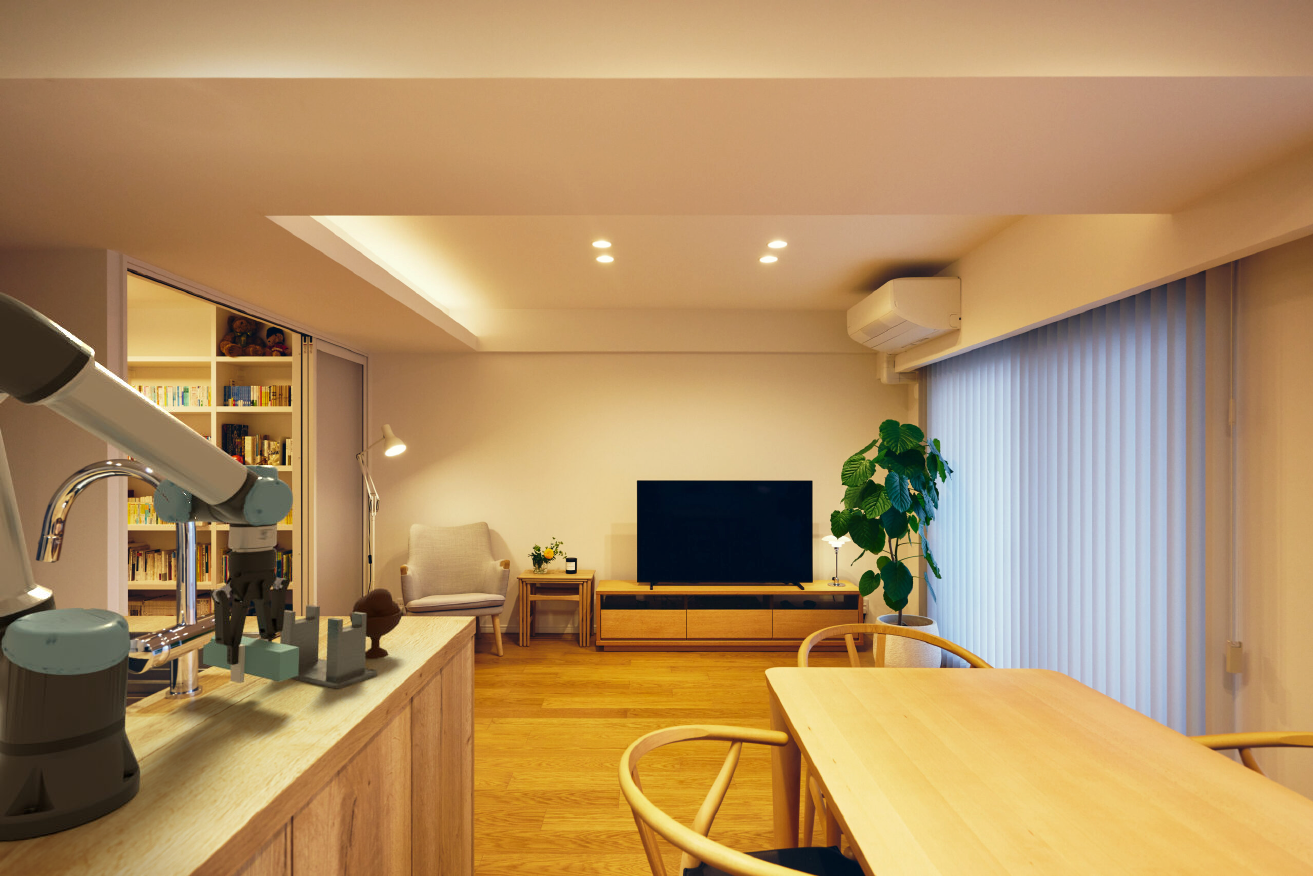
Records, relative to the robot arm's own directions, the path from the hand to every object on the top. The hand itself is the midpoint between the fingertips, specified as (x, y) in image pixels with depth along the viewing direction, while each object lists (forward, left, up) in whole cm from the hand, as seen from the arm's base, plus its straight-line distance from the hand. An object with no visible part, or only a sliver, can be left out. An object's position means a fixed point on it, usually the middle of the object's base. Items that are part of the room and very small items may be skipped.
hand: (249, 677), depth 116 cm
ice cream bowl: (+29, +1, -4) cm, 29 cm away
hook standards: (+15, 0, -4) cm, 15 cm away
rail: (0, 0, +1) cm, 1 cm away
